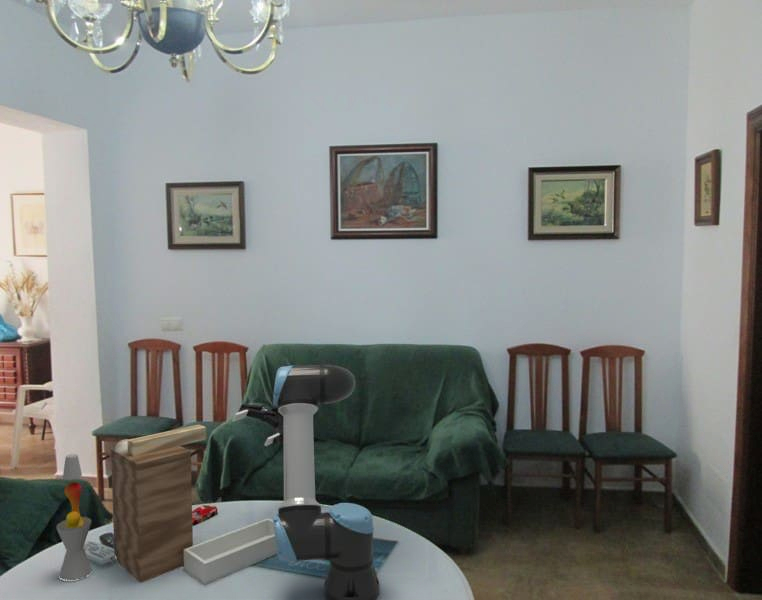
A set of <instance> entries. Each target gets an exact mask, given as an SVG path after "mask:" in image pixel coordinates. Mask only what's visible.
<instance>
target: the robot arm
mask: <svg viewBox="0 0 762 600" xmlns="http://www.w3.org/2000/svg"><path fill="white" fill-rule="evenodd" d="M355 378H356V377H355V376H354V374H353V373H352V372H351V371H350V370H348V369H347V368H345V367H342V366H339V365H332V364H313V365H312V364H309V365H306V364H305V365H287V366H280V367H279V368H278V369H277V370H276V374H275V379H274V387H273V388H274V389H273V396H272V397H273V400H272V405H273V406H275V407H274V408H272V409H271V410H270V409H266V405H265V404H261V405H257V404H248V403H242V404H241V405H240V407H239V409H238V411H237V412H236V413H234V415H233V417H232V419H231V421H232V422H233V423H234V422H236V421H240V420H242V419H245V418H246V417H248V418H249V417H250V418H253V419H257V420H260V421H261V422H266V423H268V424H269V425H270V426H271V427H273V428H274V431H275V433H274V434H273V435H271V436H268V437H267V438H266V441H265V442H264V444H263V445H264V446H265V447H268V446H270V445H271V444H278V443H282V445H283V502H282V503H281V505H280V506H279V507H278V508H277V510H278V514H276V515H273V517H272V520H273V523H274V532H275V539H276V547H277V554H276V555H277V557H278V559H279V560H280V561H281V562H301V561H314V560H316V561H317V560H325V559H327V560H328V559H329V561H330V563H329V568H328V570H327V576H326V579H325V580H324V582H323V583H324V584H323V595H324V598H325V599H326V600H376V599H377V598H378V597H379V595H380V580H379V578H378V575H377V572H376V571H377V570H376V569H375V566H374V565H375V564H374V530H375V529H374V522H373V520H374V519H373V514H372V513H371V512H370V510H369V509H367V508H366V507H364V506H362V505H359V504H358V503H357V504H356V503H351V502H340V503H337V504H333V505H332V506H331V507H330V509H329V511H328V512H327V511H326V512H322V505H321V504H320V503H319V502H318V501H317V500H316V481H315V480H316V478H315V477H316V475H315V446H314V444H315V443H314V415H315V414H316V413H317V412H318V410H319V405H325V404H326V405H327V404H329V405H330V404H333V403H337V402H340V401H342V400H346V399H347V398H349V397H350V396H351V395H352V394H353V392H354V391H355V388H356V379H355Z"/></svg>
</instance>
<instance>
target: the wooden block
mask: <svg viewBox="0 0 762 600" xmlns="http://www.w3.org/2000/svg"><path fill="white" fill-rule="evenodd" d="M127 440H129V439H121V440H119V442H117V443H116V445H115V446H114V448H112V449H111V451H110V454H111V456H110V458H111V459H110V460H111V462H110V463H111V484H112V485H111V487H112V488H111V490H112V492H111V493H112V522H113V524H112V525H113V550H114V551H113V552H114V553H113V555H114V554H115V555H116V557H117V561H118V563H119V564H120V565H119V564H118V563H117V564H118V565H119V566H120V567H122V568H123V569H124V570H125V569H126V570H125V571H126V572H128V573H129V574H130V575H131V576H132V577H133V578H135V579H136V580H137V581H138V582H139V583H143V582H145V581H149V580H151V579H154V578H156V577H158V576H161V575H163V574H166V573H169V572H172V571H174V570H176V569H179V568H182V567H184V549H186V548H189V547H192V546H194V541H193V540H194V537H193V530H194V529H193V525H192V511H193V496H192V495H193V493H192V492H193V490H192V489H193V488H192V451H191V450H190V449H188V448H185V447H183V446H182V445H180V446H176V447H172V448H168V449H163V450H159V451H155V452H151V453H147V454H142V455H138V456H132V455H130V454H128V444H127Z"/></svg>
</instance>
